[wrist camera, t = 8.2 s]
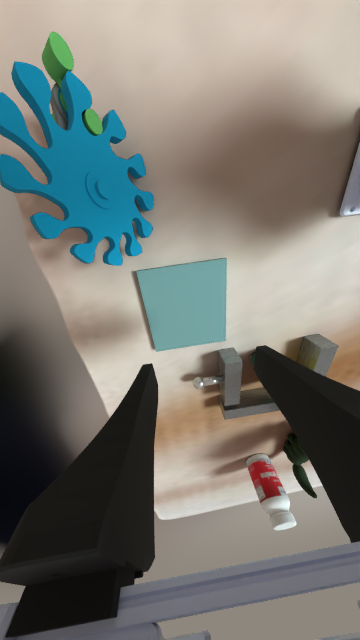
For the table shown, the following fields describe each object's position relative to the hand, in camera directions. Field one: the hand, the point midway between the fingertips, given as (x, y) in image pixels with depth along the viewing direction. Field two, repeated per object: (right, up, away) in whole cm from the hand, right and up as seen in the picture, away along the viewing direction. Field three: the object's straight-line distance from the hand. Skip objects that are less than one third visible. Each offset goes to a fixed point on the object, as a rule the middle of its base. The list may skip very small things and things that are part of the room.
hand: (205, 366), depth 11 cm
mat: (-1, +5, +9) cm, 10 cm away
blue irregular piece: (-6, +15, +5) cm, 17 cm away
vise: (+10, -6, +16) cm, 20 cm away
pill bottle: (+19, -34, +31) cm, 49 cm away
